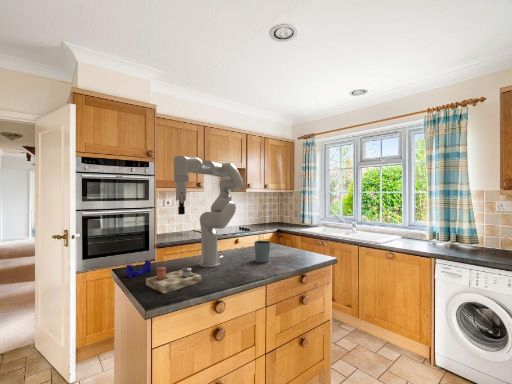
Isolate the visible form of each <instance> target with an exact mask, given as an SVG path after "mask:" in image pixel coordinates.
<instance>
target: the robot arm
mask: <svg viewBox="0 0 512 384" xmlns="http://www.w3.org/2000/svg"><path fill="white" fill-rule="evenodd" d="M190 173H192V174H198V175H207V176H212V177H220V178H221V179H220V180H219V184H218V185H219V186H218V187H219V195H218V196H217V197H216V199H215V200H214V201H213V203H212V204H211V206H210V211H204V212H202V213H201V215H200V216H199V226H200V230H201V231H200V232H201V233H200V234H201V238H200V239H201V244H200V245H201V246H200V247H201V253H200V254H201V260H200V261H199V262H198V266H199V267H202V268H215V267H218V266H220V264H221V261H220V260H223V259H224V256H223V255H218V236H219V235H218V232H217V230H218V229H220V230H222V229H225V228H226V227H227V226H228V224H229V223H230V222H231V220H232V219H233V217H234V216H235V214H236V212H237V211H236V209H237V206H236V203H235V202H234V201H233V200H232V199H233V198H232V195H231V191H239V190H242V189H243V188H244V185H245V184H244V180H243V177H242V176H241V173H240V171H239V169H238V168H237V167H236V165H235V164H233V162H227V163H226V162H225V163H221V162H217V161H212V160H204V159H203V160H202V159H201V158H200V157H198V156H186V155H175V156H174V157H173V182H174V183H175V201H176V202H178V208H177V209H178V210H177V211H178V212H177V213H178V215H185V214H186V213H185V212H186V209H185V202H186V200H187V183H189V182H190V181H189V180H190V178H189V176H190V175H189V174H190Z"/></svg>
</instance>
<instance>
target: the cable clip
mask: <svg viewBox="0 0 512 384" xmlns="http://www.w3.org/2000/svg"><path fill="white" fill-rule="evenodd" d="M125 268H126V277H128V278H129V279H132V278H136V277H140V276H142V275H143V274H147V273H150V272H151V271H152V270H151V260H144V264H143V266H142V267H141V268H140V269H139V270H137V271H136V270H134V268H133V265H132V264H126V267H125Z"/></svg>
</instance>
